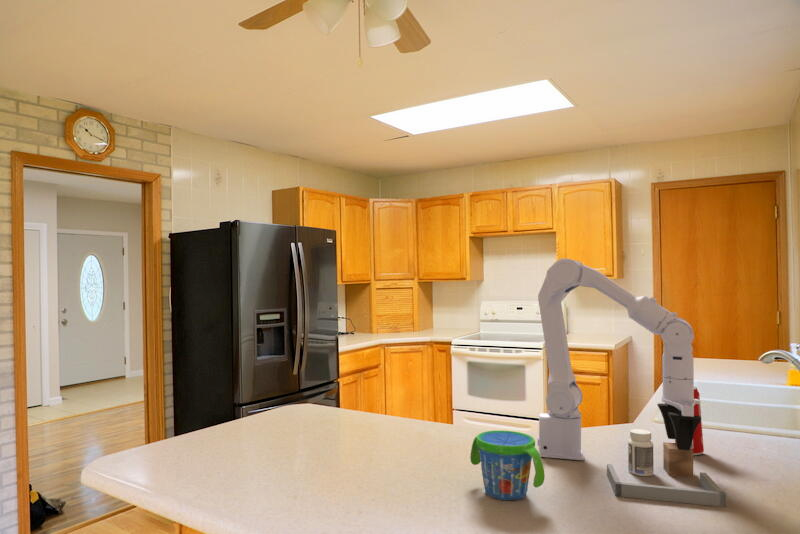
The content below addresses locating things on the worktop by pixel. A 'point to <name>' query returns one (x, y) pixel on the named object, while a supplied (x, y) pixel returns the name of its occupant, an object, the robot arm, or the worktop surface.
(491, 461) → the snack cup
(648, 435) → the pill bottle
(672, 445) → the walnut block
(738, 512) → the worktop surface
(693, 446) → the beverage can
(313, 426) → the worktop surface
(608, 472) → the corral
